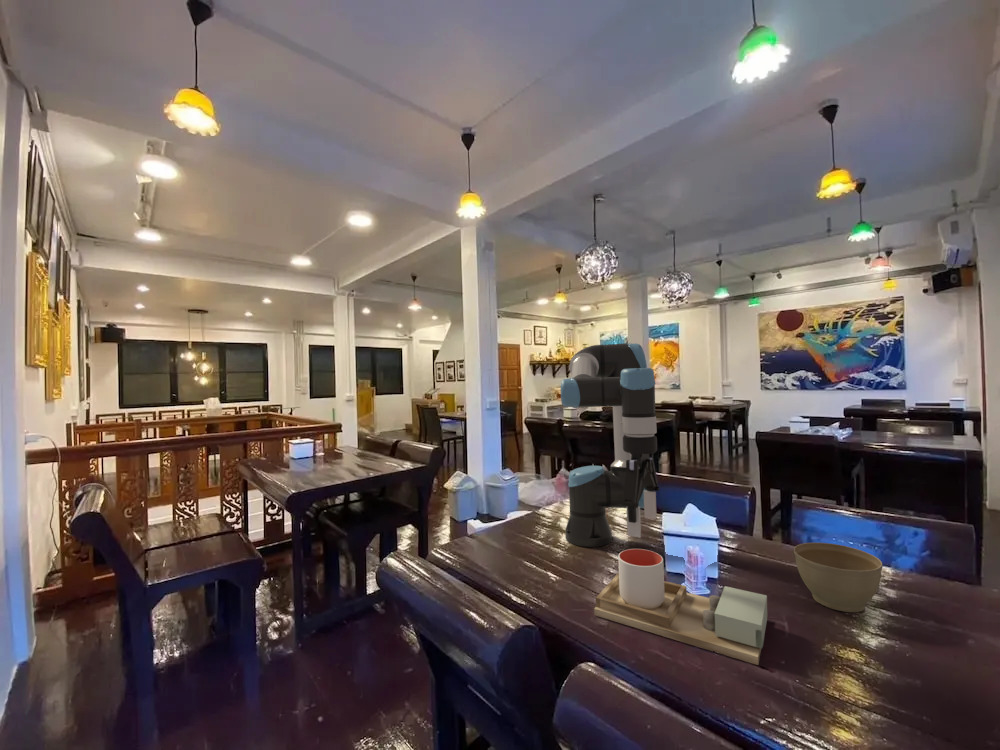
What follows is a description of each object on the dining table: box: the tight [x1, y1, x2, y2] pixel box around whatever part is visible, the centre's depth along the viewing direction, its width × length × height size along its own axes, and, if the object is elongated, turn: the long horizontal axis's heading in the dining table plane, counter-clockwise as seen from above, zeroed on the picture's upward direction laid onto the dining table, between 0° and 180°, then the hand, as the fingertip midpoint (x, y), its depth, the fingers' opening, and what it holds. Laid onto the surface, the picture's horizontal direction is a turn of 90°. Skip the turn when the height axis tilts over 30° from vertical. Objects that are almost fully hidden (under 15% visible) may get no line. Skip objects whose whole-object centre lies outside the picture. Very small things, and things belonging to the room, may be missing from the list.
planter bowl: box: [793, 542, 883, 613], centre depth 100 cm, size 16×16×11 cm
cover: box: [715, 585, 769, 650], centre depth 90 cm, size 13×8×4 cm, turn 145°
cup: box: [617, 548, 665, 609], centre depth 102 cm, size 10×10×10 cm
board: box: [593, 572, 762, 666], centre depth 97 cm, size 18×32×4 cm, turn 55°
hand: (642, 526), depth 101 cm, fingers open, 13 cm apart
